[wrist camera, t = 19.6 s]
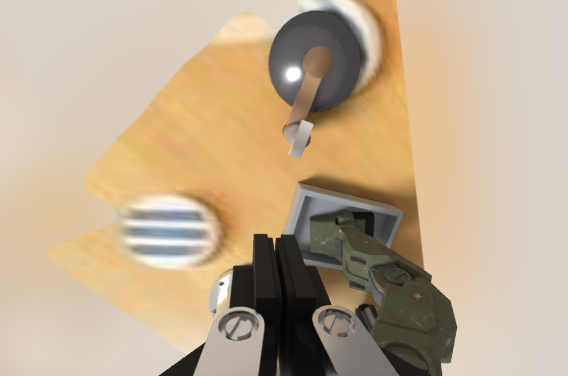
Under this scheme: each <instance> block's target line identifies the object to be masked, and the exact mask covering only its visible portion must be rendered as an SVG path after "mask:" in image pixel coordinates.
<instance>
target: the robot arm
mask: <svg viewBox="0 0 568 376" xmlns="http://www.w3.org/2000/svg"><path fill="white" fill-rule="evenodd" d="M208 306H209V310H210V312H211V314H212V316H213V318H214V319H215V320H214V322H213V324H212V327H211V330H210V332H209V335H208V338H207V340H206V342H205V343H204V344H202V345H201V346H199V347H198V348H197V349H195V350H194V351H192V352H191V353H190V354H188V355H187V356H186V357H184V358H183V359H181V360H180V361H178V362H177V363H176V364H174V365H173V366H171V367H170V368H169V369H167V370H166V371H164V372H163V373H162V374H160V375H159V376H431V375H430V374H428V373H426V372H424V371H422V370H421V369H419V368H417V367H415V366H414V365H412V364H410V363H408V362H407V361H405V360H403V359H401V358H399V357H398V356H396V355H394V354H392V353H391V352H389V351H387V350H385V349H384V348H382V347H380V346H378V345H377V344H376V342H375V341H374V339H373V338H372V337H371V335H370V334H369V332H368V331H367V329H366V328H365V327H364V325H363V324H362V322H361V321H360V320H359V318H358V317H357V316H356V315H355V314H354V313H353V312H351V311H350V310H348V309H346V308H343V307H341V306H335V305H331V302H330V300H329V297H328V295H327V292H326V290H325V287H324V285H323V283H322V280H321V278H320V275H319V273H318V270H317V268H316V266H305V263H304V260H303V257H302V254H301V251H300V248H299V245H298V242H297V239H296V237H295V235H293V234H281V238H276V244H275V250H274V244H273V238H268V236H267V234H254V240H253V262H252V266H233V269H232V270H230V271H228V272H226V273H224V274H223V275H221V276H220V277H219V278H218V279H217V280H216V281H215V283H214V284H213V286H212V288H211V290H210V293H209V299H208Z"/></svg>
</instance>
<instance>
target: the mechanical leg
mask: <svg viewBox="0 0 568 376" xmlns="http://www.w3.org/2000/svg"><path fill="white" fill-rule="evenodd" d="M374 220H375V216H374V214H373V212H350V211H348V210H347V209H346V210H340V212H339V215H338V214H337V213H330V214H329V215H322V216H312V217H310V250H311V253H322V254H328V257H335V258H336V259H337V260H339V261H340V262H342V266H343V273H344V275H345V277H346V279H347V281H348V282H349V283H350V284H349V287H350V288H354V289H358V290H362V291H365V292H367V293H372V295H373V298H374V301H375V302H376V303H377V304H378V306H379V307H380V310H379V314H378V316H377V318H376V320H375V322H374V325H373V326H372V329H371V332H370V335H371V337H372V338H373V339H374V341H375V342H376V344H377V345H378V346H380V347H382V348H384V349H385V350H387V351H389V352H391V353H392V354H394V355H396V356H398V357H399V358H401V359H403V360H405V361H407V362H408V363H410V364H412V365H414V366H415V367H417V368H419V369H421V370H422V371H424V372H426V373H428V374H430V375H431V376H442V369H441V363H451V358H452V352H453V347H454V342H455V336H456V331H457V325H456V321H455V317H454V313H453V309H452V305H451V301H450V300H449V299H448V298H447V297H445V295H443V294H442V293H441V292H440V291H439V290H438V289H437V288H436V287H435V286H434V285H433V284H432V283H431V278H432V276H431V275H430V274H429V273H427V272H426V271H424V270H423V269H422V268H420V267H419V266H417V265H415V264H413V263H412V262H410V261H408V260H406V259H405V258H403V257H402V256H400V255H399V254H397V253H396V252H394V251H393V250H391V249H390V248H388V247H387V246H385V245H383V244H382V243H380V242H379V241H378V240H376V239H375V238H374Z"/></svg>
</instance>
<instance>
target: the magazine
mask: <svg viewBox="0 0 568 376" xmlns="http://www.w3.org/2000/svg"><path fill="white" fill-rule="evenodd" d="M355 314H356V316H357V317H358V318H359V320H360V321H361V322H362V324H363V325H364V327H365V328H366V329H367V331H368V332H369V334H370V332H371V329H372V326H373V325H374V322H375V320H376V318H377V316H378V314H377V312H376V310H375V308H374V306H373V305H372V304H371V305H367V304H362V305H359V307H358V308H356V310H355Z"/></svg>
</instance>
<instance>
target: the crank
mask: <svg viewBox="0 0 568 376" xmlns="http://www.w3.org/2000/svg"><path fill="white" fill-rule="evenodd" d="M333 64H334V59H333V55H332V53H331V52H330V50H329V49H327V48H326V47H323V46H316V47H314V48H312V49H311V50H309V51H308V52H307V53H306V54H305V56H304V58H303V62H302V66H303V70H304V72H305V74H304V77H303V80H302V83H301V85H300V88H299V91H298V94H297V96H296V99H295V102H294V105H293V107H292V110H291V113H290V116H289V118H288V121H287V124H286V125H285V126H284V127H283V135H284V137H285V138H286V139H287V140H288V142H289V143H290V144H291V145H292V146H291V149H290V152H289V155H290V156H293V157H296V158H299V159H301V156H302V153H303V151H304V148H305V147H307V146H308V145H309V143H310V139H311V137H310V133H311V130H312V128H313V125H314V124H312V123H310V122H307V121H305V120H306V118H307V115H308V112H309V110H310V107H311V105H312V102H313V99H314V97H315V94H316V91H317V89H318V86H319V84H320V81H321V78H323V77H325V76H327V75H328V74H329V73H330V72H331V70H332V68H333Z"/></svg>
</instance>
